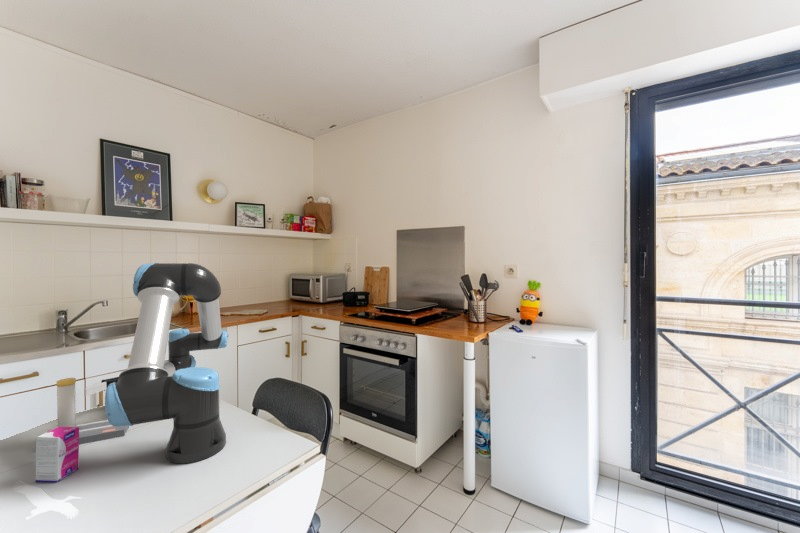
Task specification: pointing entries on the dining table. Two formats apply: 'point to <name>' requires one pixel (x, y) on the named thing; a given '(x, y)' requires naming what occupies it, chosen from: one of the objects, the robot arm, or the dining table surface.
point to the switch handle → (66, 402)
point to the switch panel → (99, 431)
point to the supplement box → (57, 454)
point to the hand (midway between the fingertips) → (100, 394)
